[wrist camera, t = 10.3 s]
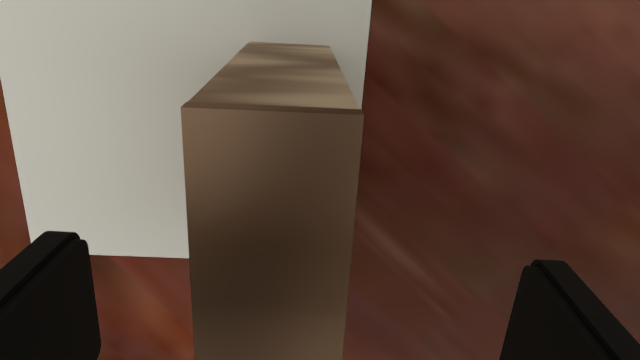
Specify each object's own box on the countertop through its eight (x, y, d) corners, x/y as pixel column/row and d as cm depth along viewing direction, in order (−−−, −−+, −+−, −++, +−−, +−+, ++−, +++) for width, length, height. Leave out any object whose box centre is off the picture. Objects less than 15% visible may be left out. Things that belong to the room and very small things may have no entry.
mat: (372, -25, 20) (374, -25, 20) (345, 257, 25) (346, 263, 25) (-15, -52, 19) (-24, -54, 19) (38, 246, 25) (32, 252, 24)
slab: (329, 45, 21) (364, 115, 9) (319, 210, 24) (337, 420, 12) (248, 41, 21) (180, 107, 9) (249, 208, 24) (198, 419, 12)
